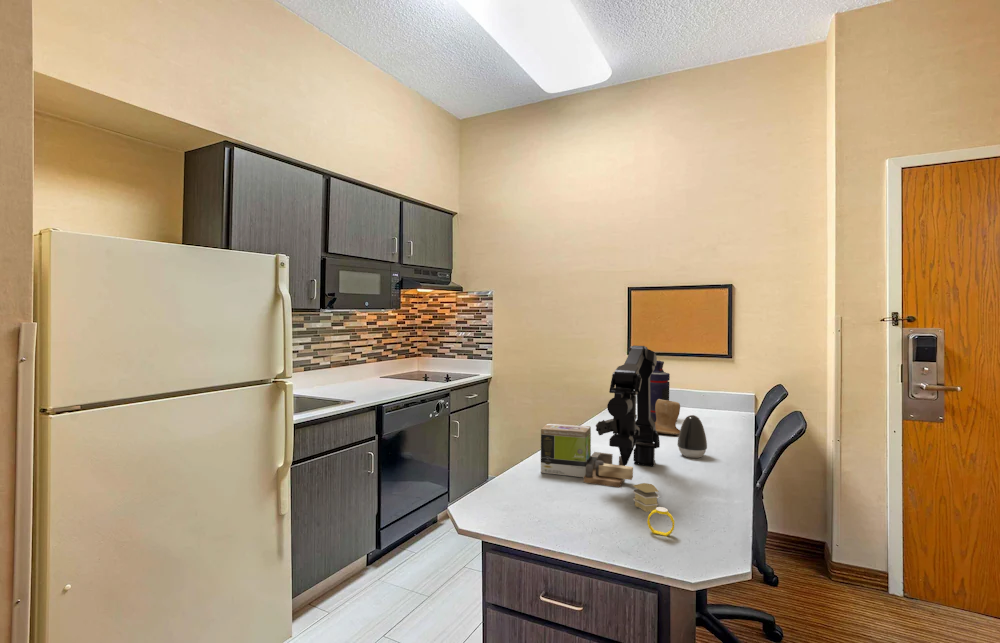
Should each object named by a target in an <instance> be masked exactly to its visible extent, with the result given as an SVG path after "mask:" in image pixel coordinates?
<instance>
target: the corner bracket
mask: <svg viewBox="0 0 1000 643" xmlns="http://www.w3.org/2000/svg"><path fill="white" fill-rule="evenodd" d="M613 458H614V457H613V453H607V452H599V451H594V452H593V453H591V459H590V465H593V469H594V470H596V461H597V460H600V461H603V462H604V463H606V464H613Z"/></svg>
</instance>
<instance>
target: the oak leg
mask: <svg viewBox="0 0 1000 643" xmlns="http://www.w3.org/2000/svg"><path fill="white" fill-rule="evenodd" d="M596 475H597V476H606V477H613V478H620V479H624V480H630V481H632V480H633V478H634V467H633V466H630V465H629V466H627V465H625V466H622V465H619V464H613V463H612V464H606V463H604V462H603V461H600V460H597V461H596Z"/></svg>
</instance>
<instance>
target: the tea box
mask: <svg viewBox="0 0 1000 643" xmlns="http://www.w3.org/2000/svg"><path fill="white" fill-rule="evenodd" d="M591 429H592V428H591V426H590V425H576V424H575V425H573V424H564V423H563V424H562V423H547V424H545V425H544V426H543V427H542V428H540V473H541V474H550V475H557V476H558V475H559V476H560V475H561V476H566V477H567V476H569V477H578V478H584V476H585V475H586V465H588V464H590V459H591V456H592V451H591V449H592V447H591V446H592V443H591V442H592V440H591V438H592V437H591V435H592V433H591Z"/></svg>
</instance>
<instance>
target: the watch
mask: <svg viewBox="0 0 1000 643" xmlns="http://www.w3.org/2000/svg"><path fill="white" fill-rule="evenodd" d="M654 514H659V515H665V516H668V518H670V521H671V523H672V527H671V529H670V530H668V531H667V532H664V531H660V530H656V529H654V527H653V526H652V524H651V521H650V520H651V516H652V515H654ZM646 522H647V526H648V529H649V530H650V532H652V534H655V535H660V536H664V537H667V536H670V535H671V534H672V533H673V531H674V530H675V518H674V516H673V515H672V513H670V512H669V510H668V508H666V507H663V506H657V508H656V509H655V510H653V511H650V513H649V514H648V516H647V520H646Z"/></svg>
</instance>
